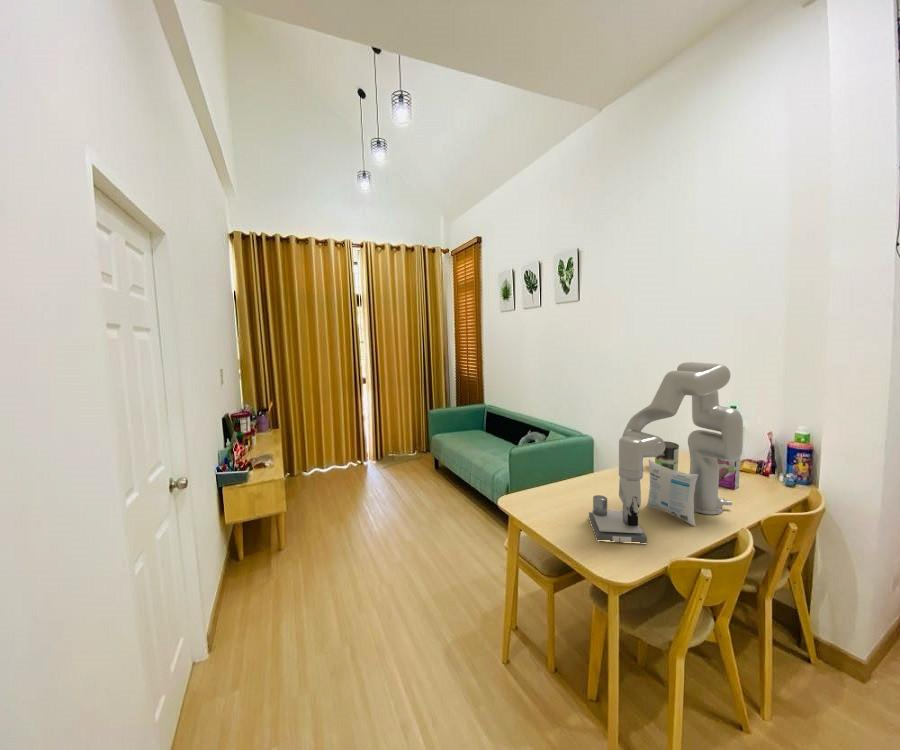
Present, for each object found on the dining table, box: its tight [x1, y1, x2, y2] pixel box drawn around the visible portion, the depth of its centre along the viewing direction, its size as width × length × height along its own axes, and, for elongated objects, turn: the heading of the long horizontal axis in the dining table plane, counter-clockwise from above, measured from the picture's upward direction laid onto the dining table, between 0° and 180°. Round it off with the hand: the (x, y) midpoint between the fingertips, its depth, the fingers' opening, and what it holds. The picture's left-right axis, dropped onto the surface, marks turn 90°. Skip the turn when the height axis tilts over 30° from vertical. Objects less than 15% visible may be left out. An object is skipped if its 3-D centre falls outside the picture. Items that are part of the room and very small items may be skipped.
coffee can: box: [654, 440, 680, 471], centre depth 184 cm, size 10×10×14 cm
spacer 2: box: [622, 503, 633, 525], centre depth 130 cm, size 5×5×6 cm
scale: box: [588, 509, 648, 544], centre depth 134 cm, size 16×17×4 cm
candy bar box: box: [716, 457, 741, 491], centre depth 166 cm, size 11×5×16 cm, turn 34°
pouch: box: [646, 459, 698, 528], centre depth 142 cm, size 8×19×20 cm, turn 24°
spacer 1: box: [592, 494, 608, 517], centre depth 139 cm, size 5×5×6 cm
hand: (630, 520), depth 130 cm, fingers closed on spacer 2, 5 cm apart
